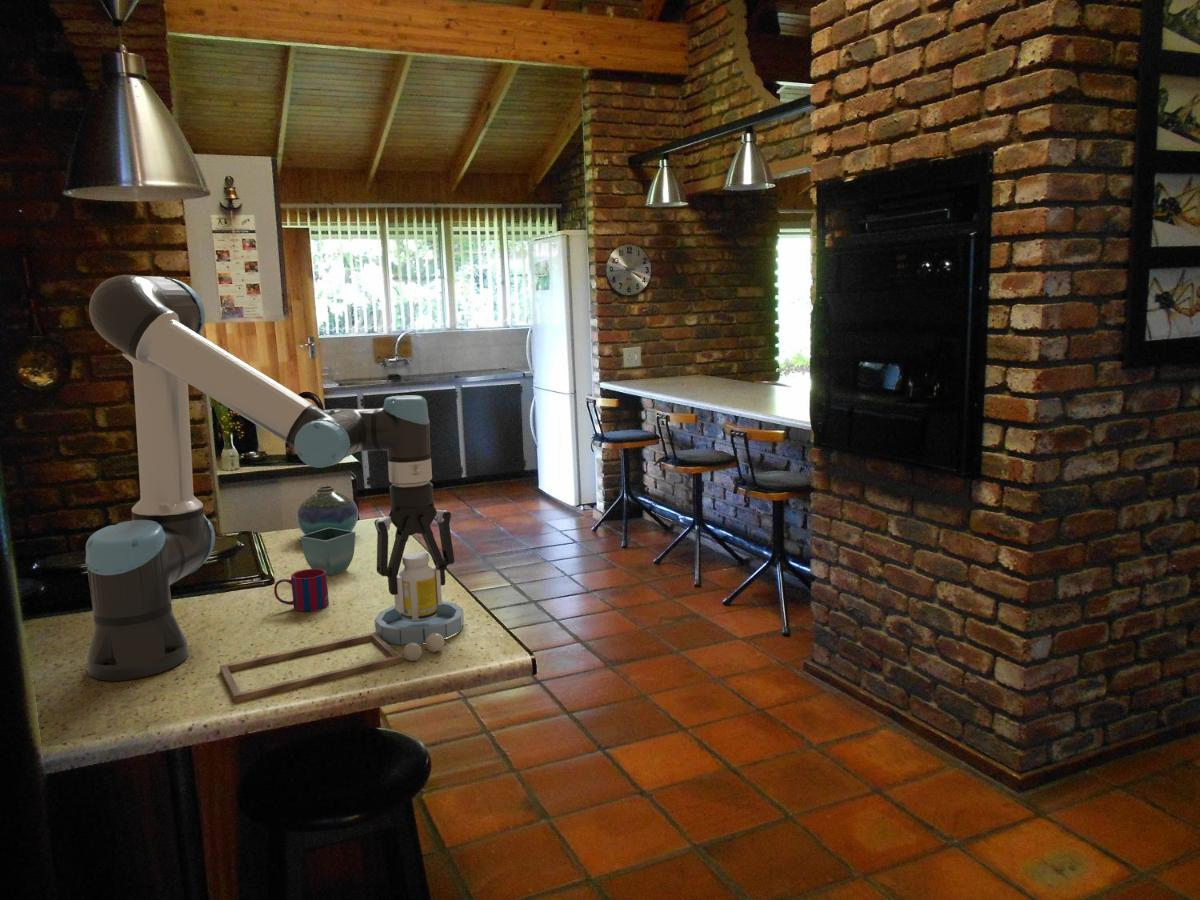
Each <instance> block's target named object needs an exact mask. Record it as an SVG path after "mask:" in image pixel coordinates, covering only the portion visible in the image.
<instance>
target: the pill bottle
mask: <svg viewBox="0 0 1200 900" xmlns="http://www.w3.org/2000/svg"><path fill="white" fill-rule="evenodd" d="M429 563H430V554H429V553H427V552H424V551H422V552H420V551H417V552H416V551H415V552H408V553H406V554H403V556H402V565H403V566H404V568H402V569H401V570H399V572H398V575H399V576H401V577H402V586H403V602H404V613H401V615H402V618H403V619H404V620H406V621H409V622H422V621H427V620H430V619H432V618H434V617H435V616H436V615H437V598H436V582H435V571H434V569H433V568H432V567H433V566H429Z"/></svg>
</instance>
